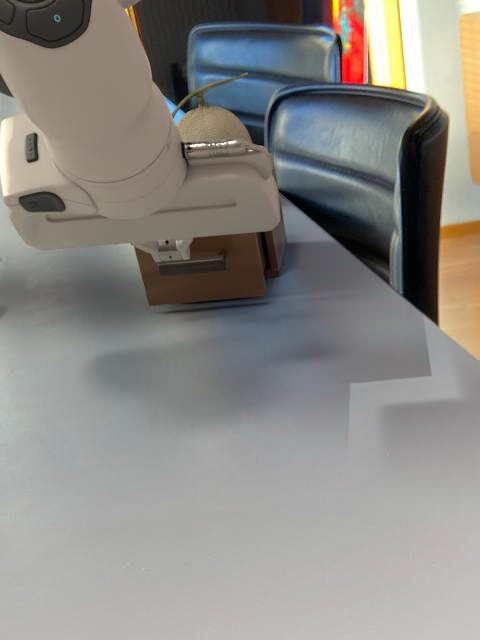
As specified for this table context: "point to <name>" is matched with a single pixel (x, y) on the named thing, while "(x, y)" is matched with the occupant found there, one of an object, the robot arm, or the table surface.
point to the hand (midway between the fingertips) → (172, 253)
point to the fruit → (209, 119)
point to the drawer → (207, 270)
